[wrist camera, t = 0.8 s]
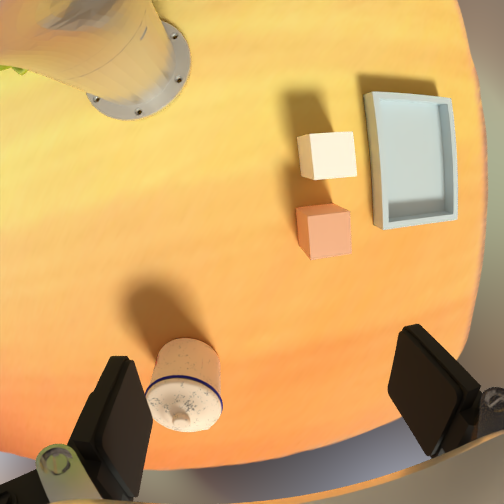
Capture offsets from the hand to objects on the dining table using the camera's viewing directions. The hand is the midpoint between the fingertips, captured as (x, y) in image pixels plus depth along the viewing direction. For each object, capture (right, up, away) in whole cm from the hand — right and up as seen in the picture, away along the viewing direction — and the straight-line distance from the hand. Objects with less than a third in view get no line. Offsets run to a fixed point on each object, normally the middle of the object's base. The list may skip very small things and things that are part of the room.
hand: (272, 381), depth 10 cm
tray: (+19, +16, +25) cm, 35 cm away
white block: (+7, +15, +24) cm, 29 cm away
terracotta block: (+7, +8, +27) cm, 29 cm away
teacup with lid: (-9, -12, +31) cm, 35 cm away
